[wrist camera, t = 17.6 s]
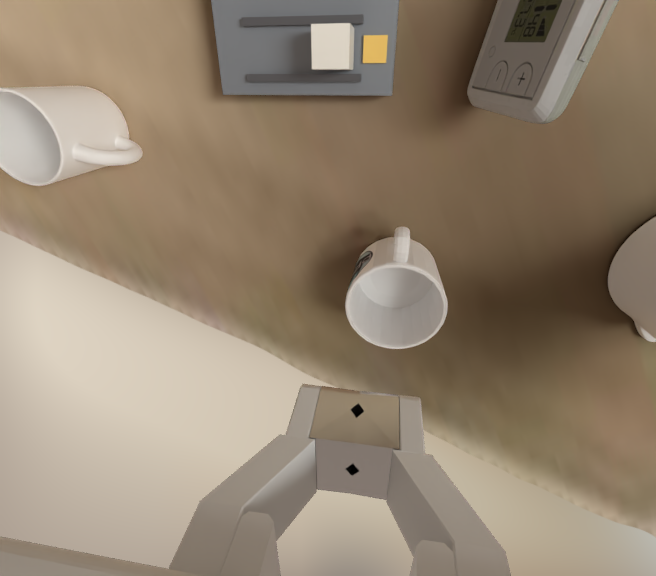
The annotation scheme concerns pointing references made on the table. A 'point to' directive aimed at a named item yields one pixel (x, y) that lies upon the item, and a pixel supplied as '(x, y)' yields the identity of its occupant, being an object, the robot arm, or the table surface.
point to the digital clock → (536, 56)
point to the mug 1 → (61, 133)
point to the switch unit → (302, 46)
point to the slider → (332, 46)
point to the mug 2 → (396, 293)
